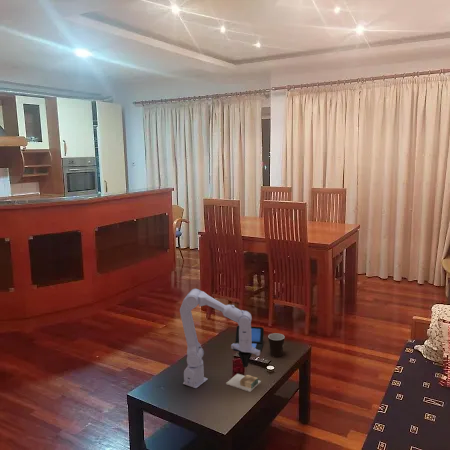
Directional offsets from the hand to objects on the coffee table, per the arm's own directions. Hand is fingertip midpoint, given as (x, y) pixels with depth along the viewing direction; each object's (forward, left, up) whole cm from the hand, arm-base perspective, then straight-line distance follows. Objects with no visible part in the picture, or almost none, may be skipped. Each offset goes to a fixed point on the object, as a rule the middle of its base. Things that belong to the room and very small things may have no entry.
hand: (245, 366), depth 196 cm
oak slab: (0, +1, -7) cm, 7 cm away
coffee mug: (+35, +1, -9) cm, 36 cm away
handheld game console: (+35, +19, -9) cm, 41 cm away
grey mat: (0, +1, -9) cm, 9 cm away
